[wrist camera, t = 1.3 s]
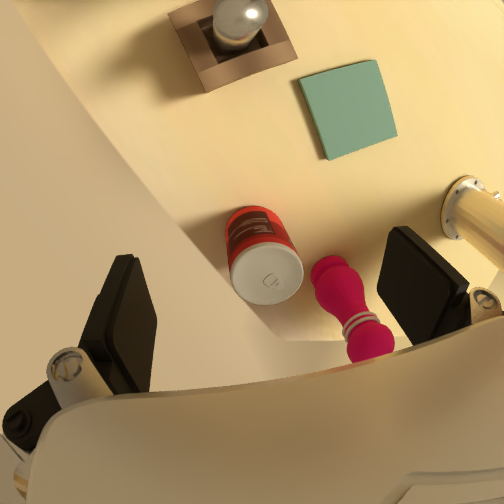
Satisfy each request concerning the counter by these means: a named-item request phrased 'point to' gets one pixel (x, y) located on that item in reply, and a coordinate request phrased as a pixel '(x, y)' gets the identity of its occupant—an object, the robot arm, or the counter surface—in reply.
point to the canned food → (261, 257)
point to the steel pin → (237, 23)
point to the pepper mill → (350, 309)
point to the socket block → (221, 65)
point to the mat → (349, 108)
